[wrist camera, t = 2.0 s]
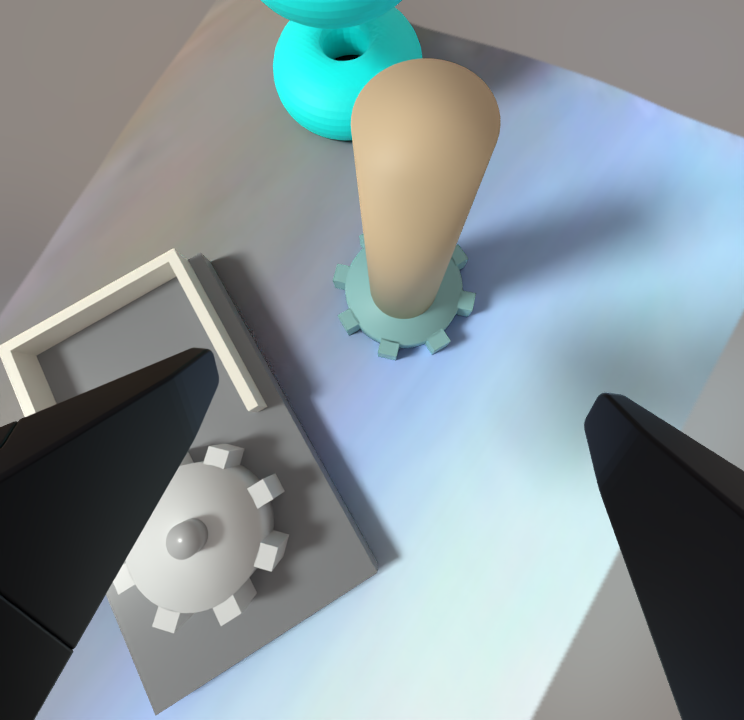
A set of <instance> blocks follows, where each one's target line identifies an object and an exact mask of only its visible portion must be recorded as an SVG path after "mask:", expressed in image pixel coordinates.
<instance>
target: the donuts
mask: <svg viewBox="0 0 744 720" xmlns="http://www.w3.org/2000/svg"><path fill="white" fill-rule="evenodd" d="M261 1H262V2H263V3H264V4H266V5H267V6H268V7H269V8H270V9H272V10H273V11H274V12H276V13H277V14H279V15H281V16H282V17H284V18H286V19H289V20H290V21H289V22H288V24H287V25H286V26H285V28H284V30H283V31H282V33H281V36H280V38H279V40H278V43H277V46H276V49H275V54H274V62H273V73H274V81H275V86H276V89H277V92H278V95H279V97H280V100H281V102H282V103H283V105H284V107H285V108H286V110H287V111H288V113H289V114H290V115H291V116H292V117H293V118H294V119H295V120H296V121H297V122H298V123H299V124H300V125H302V126H303V127H304V128H306V129H307V130H309V131H311V132H313V133H315V134H317V135H319V136H322V137H325V138H329V139H335V140H352V133H351V115H352V110H353V107H354V104H355V101H356V99H357V97H358V95H359V93H360V92H361V90H362V89H363V88H364V86H365V85H366V84H367V83H368V82H369V81H370V80H371V79H372V78H373V77H374V76H376V75H377V74H378V73H380V72H381V71H383V70H384V69H386V68H388V67H390V66H392V65H394V64H397V63H400V62H403V61H408V60H412V59H421V58H422V51H421V46H420V43H419V40H418V37H417V35H416V33H415V31H414V29H413V27H412V26H411V24H410V23H409V21H408V20H407V19H406V17H405V16H404V15H403V14H402V13H401V12H400V11H399V10H398V9H396V8H395V6H396V5H397V4H398V3H399V2H401V1H402V0H261ZM344 55H359V56H360V57H358V58H356V59H353V60H348V61H337V60H333V59H335V58H337V57H340V56H344Z"/></svg>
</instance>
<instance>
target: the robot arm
mask: <svg viewBox="0 0 744 720" xmlns="http://www.w3.org/2000/svg"><path fill="white" fill-rule="evenodd" d="M218 384H219V374H218V370H217V366H216V362H215V358H214V354H213V352H212V351H211V350H210V349H206V348H197V347H193V348H190V349H188V350H185V351H183V352H180V353H178V354H176V355H173V356H171V357H168V358H166V359H163V360H161V361H159V362H156V363H154V364H151V365H149V366H147V367H144V368H142V369H139V370H137V371H135V372H132V373H130V374H127V375H125V376H123V377H120V378H118V379H115V380H113V381H111V382H108V383H106V384H103V385H101V386H99V387H96V388H94V389H91V390H89V391H87V392H84V393H82V394H79V395H77V396H75V397H72V398H70V399H67V400H65V401H63V402H60V403H58V404H55V405H53V406H51V407H48V408H46V409H43V410H41V411H39V412H36V413H34V414H31V415H29V416H27V417H24V418H22V419H20V420H19V421H18V422H16V421H15V422H12V423H9V424H7V425H5V426H2V427H0V720H34V719H35V718H36V716H37V714H38V712H39V711H40V709H41V707H42V705H43V704H44V702H45V700H46V698H47V697H48V695H49V693H50V691H51V690H52V688H53V686H54V685H55V683H56V681H57V679H58V678H59V676H60V674H61V672H62V671H63V669H64V667H65V665H66V664H67V662H68V660H69V658H70V657H71V655H72V653H73V650H72V649H74V648H75V647H76V646H77V644H78V642H79V640H80V639H81V637H82V635H83V633H84V632H85V630H86V628H87V626H88V625H89V623H90V621H91V619H92V618H93V616H94V614H95V612H96V611H97V609H98V607H99V605H100V604H101V602H102V600H103V598H104V597H105V595H106V593H107V592H108V590H109V588H110V586H111V585H112V583H113V581H114V579H115V578H116V576H117V574H118V572H119V571H120V569H121V567H122V565H123V564H124V562H125V560H126V558H127V557H128V555H129V553H130V551H131V550H132V548H133V546H134V544H135V543H136V541H137V539H138V537H139V536H140V534H141V532H142V531H143V529H144V527H145V525H146V524H147V522H148V520H149V518H150V517H151V515H152V513H153V511H154V510H155V508H156V506H157V504H158V503H159V501H160V499H161V497H162V496H163V494H164V492H165V490H166V489H167V487H168V485H169V483H170V482H171V480H172V478H173V476H174V475H175V473H176V471H177V469H178V468H179V466H180V464H181V463H182V461H183V459H184V457H185V456H186V454H187V452H188V450H189V449H190V447H191V445H192V443H193V441H194V439H195V437H196V435H197V433H198V431H199V429H200V427H201V424H202V422H203V420H204V417H205V415H206V413H207V410H208V408H209V406H210V403H211V401H212V399H213V396H214V394H215V392H216V390H217V387H218ZM584 429H585V433H586V438H587V442H588V446H589V450H590V454H591V459H592V463H593V467H594V471H595V476H596V480H597V483H598V487H599V491H600V494H601V497H602V500H603V503H604V505H605V508H606V511H607V514H608V516H609V519H610V522H611V525H612V527H613V530H614V533H615V536H616V539H617V541H618V544H619V547H620V550H621V552H622V555H623V558H624V561H625V563H626V566H627V569H628V572H629V575H630V577H631V580H632V583H633V586H634V588H635V591H636V594H637V597H638V600H639V602H640V605H641V608H642V611H643V613H644V616H645V619H646V622H647V625H648V627H649V630H650V633H651V636H652V638H653V641H654V644H655V647H656V650H657V652H658V655H659V658H660V660H661V663H662V666H663V669H664V672H665V675H666V677H667V680H668V683H669V686H670V688H671V691H672V694H673V697H674V700H675V702H676V705H677V708H678V711H679V713H680V716H681V719H682V720H744V471H743V470H741V469H739V468H738V467H736V466H735V465H733V464H731V463H730V462H728V461H727V460H725V459H724V458H722V457H720V456H719V455H717V454H716V453H714V452H713V451H711V450H709V449H708V448H706V447H705V446H703V445H701V444H700V443H698V442H697V441H695V440H693V439H692V438H690V437H689V436H687V435H686V434H684V433H683V432H681V431H679V430H678V429H676V428H675V427H673V426H671V425H670V424H668V423H667V422H665V421H664V420H662V419H660V418H659V417H657V416H656V415H654V414H652V413H651V412H649V411H648V410H646V409H645V408H643V407H641V406H640V405H638V404H637V403H635V402H634V401H632V400H630V399H629V398H627V397H626V396H624V395H621V394H613V393H602V394H600V395H599V396H598V397H597V399H596V401H595V403H594V404H593V406H592V408H591V410H590V411H589V413H588V415H587V417H586V419H585V423H584Z"/></svg>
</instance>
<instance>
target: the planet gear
mask: <svg viewBox="0 0 744 720" xmlns="http://www.w3.org/2000/svg"><path fill="white" fill-rule="evenodd" d="M499 132H500V113H499V108H498V105H497V102H496V99H495V97H494V95H493V93H492V92H491V90H490V89H489V87H488V86H487V85H486V84H485V83H484V82H483V81H482V79H480V78H479V77H478V76H477V75H476V74H474V73H473V72H471V71H470V70H468V69H467V68H465V67H463V66H460V65H458V64H455V63H453V62H450V61H445V60H441V59H432V58H421V59H412V60H408V61H403V62H400V63H397V64H394V65H392V66H390V67H388V68H386V69H384V70H383V71H381V72H380V73H378V74H377V75H376V76H374V77H373V78H372V79H371V80H370V81H369V82H368V83H367V84H366V85H365V86H364V88H363V89H362V90H361V92H360V93H359V95H358V97H357V99H356V101H355V104H354V107H353V110H352V115H351V133H352V141H353V150H354V158H355V166H356V175H357V183H358V192H359V200H360V208H361V217H362V225H363V234H362V235H360V236H359V238H360V245H361V247H362V248H363V249H362V250H361V251H360V252H359V253H358V254H357V256H356V257H355V259H354V260H353V262H352V263H351V265H350V266H346V265H341V264H337V267H336V271H335V274H334V278H333V282H334V285H335V288H339V289H343V290H345V293H346V300H347V304H348V307H349V309H348V310H346V311H344V312H343V313H341V314H339V315H338V317H339V319H340V321H341V323H342V325H343V326H344V328H345V330H346V331H347V333H348V335H351V334H353V333H354V332H356V331H358V330H360V329H361V330H362V332H363V333H364V334H366V335H367V336H368V337H369V338H371V339H372V340H374V341H376V342H378V343H380V346H379V350H378V356H379V357H383V358H387V359H392V360H396V357H397V353H398V349H399V348H412V347H417V346H421V345H423V344H425V345H426V346H427V348H428V349H429V351H430V353H431V354H434V353H436V352H437V351H439V350H441V349H442V348H444V347H446V346H447V345H448V344H449V343H450V339H449V338H448V336H447V335H446V333H445V332H444V331H445V329H446V328H447V327H448V326H449V324H450V323H451V321H452V320H453V318H454V316H455V315H456V314H457V315H461V316H466V317H468V316H469V314H470V313H471V312H472V310H473V305H474V300H475V295H476V293H472V292H467V291H463V285H462V278H461V274H460V269H462V268H464V266H465V264H466V262H467V260H468V257H467V256H466V255H465V253H464V252H463V250H462V249H461V248H460V246H459V245H456V244H457V242H458V239H459V237H460V234H461V232H462V229H463V226H464V224H465V221H466V219H467V216H468V214H469V211H470V209H471V206H472V204H473V201H474V199H475V196H476V194H477V191H478V188H479V186H480V183H481V181H482V178H483V176H484V173H485V171H486V168H487V166H488V163H489V161H490V158H491V156H492V153H493V151H494V148H495V145H496V143H497V140H498V136H499Z"/></svg>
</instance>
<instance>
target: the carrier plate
mask: <svg viewBox="0 0 744 720" xmlns="http://www.w3.org/2000/svg"><path fill="white" fill-rule="evenodd" d="M193 347H197V348H206V349H210V350H211V351H212V352H213V354H214V358H215V362H216V366H217V370H218V374H219V384H218V387H217V390H216V392H215V394H214V396H213V399H212V401H211V403H210V406H209V408H208V410H207V413H206V415H205V417H204V420H203V422H202V424H201V427H200V429H199V431H198V433H197V435H196V437H195V439H194V441H193V443H192V445H191V447H190V449H189V450H188V452H187V454H186V456H185V457H184V459H183V461H182V463H181V464H180V466H179V468H178V469H177V471H176V473H175V475H174V476H173V478H172V480H171V482H170V483H169V485H168V487H167V489H166V490H165V492H164V494H163V496H162V497H161V499H160V501H159V503H158V504H157V506H156V508H155V510H154V511H153V513H152V515H151V517H150V518H149V520H148V522H147V524H146V525H145V527H144V529H143V531H142V532H141V534H140V536H139V537H138V539H137V541H136V543H135V544H134V546H133V548H132V550H131V551H130V553H129V555H128V557H127V558H126V560H125V562H124V564H123V565H122V567H121V569H120V571H119V572H118V574H117V576H116V578H115V579H114V581H113V583H112V585H111V586H110V588H109V590H108V592H107V593H106V596H107V598H108V601H109V603H110V605H111V608H112V610H113V613H114V615H115V618H116V620H117V623H118V625H119V627H120V630H121V632H122V635H123V637H124V640H125V642H126V644H127V647H128V649H129V652H130V654H131V657H132V659H133V662H134V664H135V666H136V669H137V671H138V674H139V676H140V679H141V681H142V684H143V686H144V688H145V691H146V693H147V696H148V698H149V701H150V703H151V705H152V708H153V710H154V713H155V715H157V714H159V713H160V712H162V711H163V710H165V709H167V708H168V707H170V706H171V705H173V704H174V703H176V702H177V701H179V700H181V699H182V698H184V697H185V696H187V695H188V694H190V693H191V692H193V691H195V690H196V689H198V688H199V687H201V686H202V685H204V684H205V683H207V682H208V681H210V680H212V679H213V678H215V677H216V676H218V675H219V674H221V673H222V672H224V671H226V670H227V669H229V668H230V667H232V666H233V665H235V664H236V663H238V662H239V661H241V660H243V659H244V658H246V657H247V656H249V655H250V654H252V653H253V652H255V651H257V650H258V649H260V648H261V647H263V646H264V645H266V644H267V643H269V642H271V641H272V640H274V639H275V638H277V637H278V636H280V635H281V634H283V633H284V632H286V631H288V630H289V629H291V628H292V627H294V626H295V625H297V624H298V623H300V622H302V621H303V620H305V619H306V618H308V617H309V616H311V615H312V614H314V613H316V612H317V611H319V610H320V609H322V608H323V607H325V606H326V605H328V604H329V603H331V602H333V601H334V600H336V599H337V598H339V597H340V596H342V595H343V594H345V593H347V592H348V591H350V590H351V589H353V588H354V587H356V586H357V585H359V584H360V583H362V582H364V581H365V580H367V579H368V578H370V577H371V576H373V575H374V574H376V573H377V571H378V563H377V561H376V559H375V557H374V556H373V554H372V552H371V550H370V548H369V547H368V545H367V543H366V541H365V539H364V538H363V536H362V534H361V532H360V530H359V529H358V527H357V525H356V523H355V521H354V520H353V518H352V516H351V514H350V512H349V511H348V509H347V507H346V505H345V503H344V502H343V500H342V498H341V496H340V494H339V493H338V491H337V489H336V487H335V485H334V484H333V482H332V480H331V478H330V476H329V475H328V473H327V471H326V469H325V467H324V466H323V464H322V462H321V460H320V458H319V457H318V455H317V453H316V451H315V449H314V448H313V446H312V444H311V442H310V440H309V439H308V437H307V435H306V433H305V431H304V430H303V428H302V426H301V424H300V422H299V421H298V419H297V417H296V415H295V413H294V412H293V410H292V408H291V406H290V404H289V403H288V401H287V399H286V397H285V395H284V394H283V392H282V390H281V388H280V386H279V385H278V383H277V381H276V379H275V377H274V376H273V374H272V372H271V370H270V368H269V367H268V365H267V363H266V361H265V359H264V358H263V356H262V354H261V352H260V350H259V349H258V347H257V345H256V343H255V341H254V340H253V338H252V336H251V334H250V332H249V331H248V329H247V327H246V325H245V323H244V322H243V320H242V318H241V316H240V314H239V313H238V311H237V309H236V307H235V305H234V304H233V302H232V300H231V298H230V296H229V295H228V293H227V291H226V289H225V287H224V286H223V284H222V282H221V280H220V278H219V277H218V275H217V273H216V271H215V269H214V268H213V266H212V264H211V262H210V261H209V260H208V259H207V258H206V257H205V256H204V255H203V254H201V253H199V254H197V255H196V256H194V257H192V258H190V259H189V260H187V259H186V258H185V257H184V256H182V255H181V254H180V253H179V252H178V251H176V250H175V249H174V248H173V249H171V250H169V251H168V252H166V253H164V254H162V255H160V256H159V257H157V258H155V259H153V260H152V261H150V262H148V263H146V264H144V265H143V266H141V267H139V268H137V269H136V270H134V271H132V272H130V273H128V274H127V275H125V276H123V277H121V278H119V279H118V280H116V281H114V282H112V283H111V284H109V285H107V286H105V287H103V288H102V289H100V290H98V291H96V292H94V293H93V294H91V295H89V296H87V297H86V298H84V299H82V300H80V301H78V302H77V303H75V304H73V305H71V306H70V307H68V308H66V309H64V310H62V311H61V312H59V313H57V314H55V315H53V316H52V317H50V318H48V319H46V320H45V321H43V322H41V323H39V324H37V325H36V326H34V327H32V328H30V329H29V330H27V331H25V332H23V333H21V334H20V335H18V336H16V337H14V338H12V339H11V340H9V341H7V342H5V343H4V344H2V345H0V357H1V359H2V362H3V364H4V367H5V369H6V372H7V374H8V377H9V379H10V381H11V384H12V386H13V389H14V391H15V394H16V396H17V399H18V401H19V404H20V406H21V409H22V411H23V414H24V416H25V417H27V416H29V415H31V414H34V413H36V412H39V411H41V410H43V409H46V408H48V407H51V406H53V405H55V404H58V403H60V402H63V401H65V400H67V399H70V398H72V397H75V396H77V395H79V394H82V393H84V392H87V391H89V390H91V389H94V388H96V387H99V386H101V385H103V384H106V383H108V382H111V381H113V380H115V379H118V378H120V377H123V376H125V375H127V374H130V373H132V372H135V371H137V370H139V369H142V368H144V367H147V366H149V365H151V364H154V363H156V362H159V361H161V360H163V359H166V358H168V357H171V356H173V355H176V354H178V353H180V352H183V351H185V350H188V349H190V348H193Z"/></svg>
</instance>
